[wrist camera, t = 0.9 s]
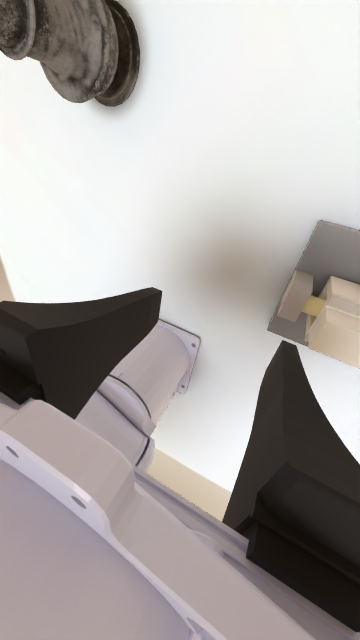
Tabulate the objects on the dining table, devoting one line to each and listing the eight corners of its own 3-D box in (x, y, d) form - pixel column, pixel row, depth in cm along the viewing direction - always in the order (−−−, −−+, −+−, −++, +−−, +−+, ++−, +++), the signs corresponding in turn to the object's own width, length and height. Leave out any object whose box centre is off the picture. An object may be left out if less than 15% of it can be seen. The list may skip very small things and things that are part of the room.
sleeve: (365, 337, 17) (377, 387, 13) (306, 316, 18) (303, 356, 15) (398, 296, 15) (423, 341, 11) (330, 275, 16) (333, 309, 12)
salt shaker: (158, 68, 16) (-48, -51, 7) (106, 130, 20) (-77, 101, 11) (110, -41, 15) (-228, -367, 6) (63, 47, 18) (-193, -69, 9)
